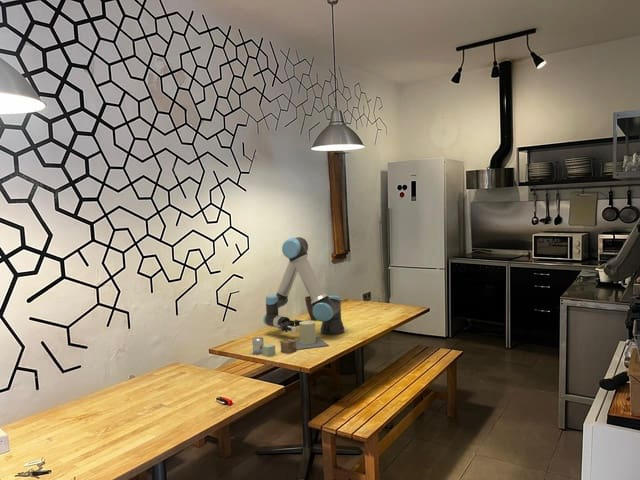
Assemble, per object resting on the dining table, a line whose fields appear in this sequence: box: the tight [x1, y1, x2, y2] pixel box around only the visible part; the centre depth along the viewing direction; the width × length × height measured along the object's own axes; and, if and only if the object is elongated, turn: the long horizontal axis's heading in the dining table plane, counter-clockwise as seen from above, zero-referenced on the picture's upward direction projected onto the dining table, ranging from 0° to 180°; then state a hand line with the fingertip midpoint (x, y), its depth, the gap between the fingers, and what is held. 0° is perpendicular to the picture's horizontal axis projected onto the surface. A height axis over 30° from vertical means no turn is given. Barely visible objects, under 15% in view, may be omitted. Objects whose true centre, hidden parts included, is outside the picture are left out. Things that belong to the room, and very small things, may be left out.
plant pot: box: [304, 295, 318, 321], centre depth 336 cm, size 15×15×16 cm
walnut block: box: [280, 338, 297, 355], centre depth 258 cm, size 6×6×6 cm
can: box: [299, 320, 316, 344], centre depth 274 cm, size 9×9×12 cm
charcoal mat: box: [294, 336, 330, 351], centre depth 272 cm, size 20×20×1 cm
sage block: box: [261, 343, 277, 357], centre depth 254 cm, size 5×5×5 cm
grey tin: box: [251, 336, 265, 356], centre depth 258 cm, size 6×6×8 cm
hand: (304, 327), depth 273 cm, fingers open, 13 cm apart
